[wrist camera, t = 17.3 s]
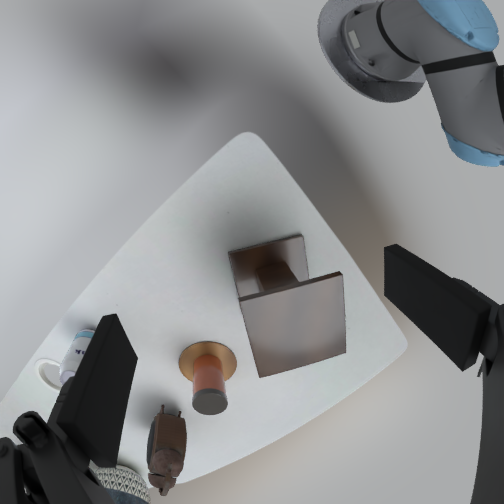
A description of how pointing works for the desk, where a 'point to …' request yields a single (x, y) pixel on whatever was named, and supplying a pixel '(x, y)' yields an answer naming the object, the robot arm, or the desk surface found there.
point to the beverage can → (75, 354)
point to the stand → (288, 306)
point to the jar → (208, 385)
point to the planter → (124, 485)
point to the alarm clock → (166, 450)
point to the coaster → (207, 349)
